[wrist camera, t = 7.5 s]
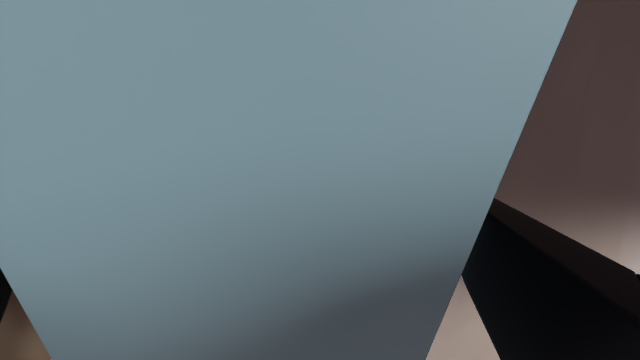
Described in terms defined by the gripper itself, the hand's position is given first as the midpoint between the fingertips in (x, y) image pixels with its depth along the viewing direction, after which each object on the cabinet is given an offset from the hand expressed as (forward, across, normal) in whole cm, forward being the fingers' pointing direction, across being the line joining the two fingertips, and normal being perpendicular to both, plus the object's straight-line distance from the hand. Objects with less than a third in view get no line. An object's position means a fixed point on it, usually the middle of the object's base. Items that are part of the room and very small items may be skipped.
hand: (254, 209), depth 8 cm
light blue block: (+4, 0, 0) cm, 4 cm away
